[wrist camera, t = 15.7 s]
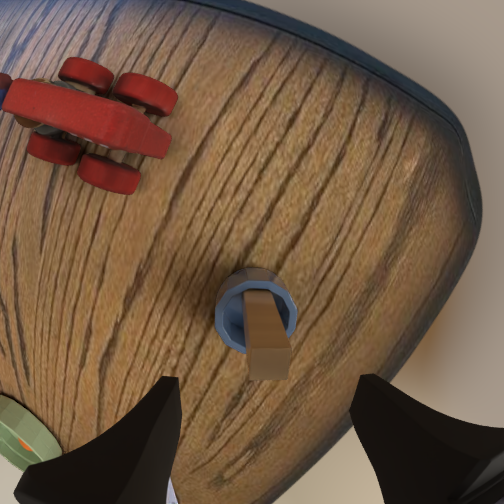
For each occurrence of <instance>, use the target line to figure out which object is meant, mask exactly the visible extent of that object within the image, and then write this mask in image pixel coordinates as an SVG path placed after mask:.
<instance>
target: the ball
mask: <svg viewBox="0 0 504 504" xmlns="http://www.w3.org/2000/svg"><path fill="white" fill-rule="evenodd" d="M18 440H19V442H20V444H21V445H22V446H23V447H24V448H25V449H26V450H28V451H32V450H31V448H30V447H29V446H28V445H26V444H25V443H24V442H23V441H22V440H21V439H20V438H19V437H18Z"/></svg>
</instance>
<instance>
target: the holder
mask: <svg viewBox="0 0 504 504" xmlns="http://www.w3.org/2000/svg"><path fill="white" fill-rule="evenodd" d="M249 288H256V289H269V290H270V291H271V294H272V296H273V299H274V302H275V304H276V307H277V310H278V312H279V315H280V318H281V321H282V323H283V326H284V329H285V331H286V334H287V337H288V338H289V337H290V335H291V334H292V333H293V332H294V330H295V327H296V319H297V308H296V306H295V304H294V302H293V299H292V297H291V295H290V293H289V291H288V290H287V288H286V286H285V284H284V282H283V280H282V279H281V278H279V277H278V276H277V275H276V274H274V273H273V272H271V271H269V270H266V269H263V268H258V267H249V268H244V269H241V270H238V271H236V272H234V273H233V274H231V275H230V276H229V277H228V278H227V279H226V280H225V281H224V282H223V283H222V285H221V287H220V289H219V291H218V293H217V298H216V305H215V329H216V330H217V332H218V334H219V335H220V337H221V338H222V340H223V342H224V343H225V344H226V345H227V346H229V347H231V348H233V349H235V350H237V351H239V352H241V353H244V354H246V343H245V332H244V321H243V310H242V292H243V291H245V290H247V289H249Z"/></svg>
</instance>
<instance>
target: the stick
mask: <svg viewBox="0 0 504 504" xmlns="http://www.w3.org/2000/svg"><path fill="white" fill-rule="evenodd" d="M242 310H243V321H244V332H245V343H246V354H247V364H248V374H249V380H287V379H288V373H289V366H290V358H291V351H292V348H291V345H290V342H289V340H288V337H287V334H286V331H285V329H284V326H283V323H282V321H281V318H280V315H279V312H278V310H277V307H276V304H275V302H274V299H273V296H272V294H271V291H270V290H269V289H256V288H249V289H247V290H245V291H243V292H242Z"/></svg>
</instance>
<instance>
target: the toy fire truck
mask: <svg viewBox="0 0 504 504" xmlns="http://www.w3.org/2000/svg"><path fill="white" fill-rule="evenodd" d="M58 77H59V78H60V79H61V80H62V81H54V82H52V81H51V80H48V79H45V78H36V79H33V80H27V79H22V78H18V79H15V80H12V79H11V77H10V76H9V75H8V74H4V73H0V110H1V109H2V110H3V111H5V112H9V113H12V114H14V117H15V119H16V120H17V122H18V123H19V124H20V125H22V126H24V127H27V128H34V129H35V130H36V131H34V132H33V133H32V134H31V137H30V140H29V143H28V146H27V151H28V153H29V154H31V155H32V156H34V157H37V158H39V159H42V160H45V161H48V162H51V163H55V164H60V165H66V166H69V165H73V164H75V162H76V160H77V157H78V155H79V152H80V148H81V146H80V145H79V144H78V143H76V142H74V141H72V140H69V139H66V138H65V135H66V133H67V132H69V133H70V134H71V135H74V136H77V137H79V138H82V139H84V140H87V141H90V142H93V143H95V144H98V145H100V146H103V147H106V148H110V149H111V150H110V153H109V155H108V158H107V157H104V156H101V155H98V154H93V153H89V154H84V155H83V156H82V159H81V162H80V165H79V168H78V172H77V174H78V176H79V177H80V178H81V179H82V180H83V181H85V182H87V183H89V184H91V185H94V186H96V187H98V188H101V189H104V190H107V191H111V192H114V193H119V194H124V195H130V194H133V193H134V192H135V190H136V187H137V185H138V182H139V180H140V177H141V173H140V172H139V170H137V169H135V168H133V167H131V166H129V165H127V164H124V163H122V160H123V158H124V156H125V154H126V152H130V153H138V154H142V155H146V156H150V157H154V158H158V159H163V158H164V157H165V155H166V152H167V150H168V147H169V145H170V142H171V139H172V138H171V135H170V134H169V133H167V132H166V131H164V130H162V129H161V128H159V127H158V126H156V125H154V124H153V123H151V122H150V120H149V118H148V117H147V116H145V115H144V112H148V113H151V114H154V115H159V116H164V117H165V116H169V115H170V113H171V112H172V110H173V108H174V106H175V104H176V102H177V100H178V95H177V93H176V92H175V91H174V90H173V89H172V88H170V87H169V86H167V85H166V84H164V83H162V82H160V81H158V80H156V79H153V78H151V77H148V76H145V75H141V74H137V73H124V74H122V75H121V76H120V77H119V80H118V81H117V83H116V85H115V87H114V89H113V92H112V93H113V95H114V97H115V98H117V99H118V100H120V101H121V102H123V103H125V104H123V103H121V102H117V101H113V100H110V99H106V98H103V97H99V96H96V95H95V93H96V94H105V93H106V92H107V91H108V89H109V87H110V85H111V83H112V82H113V79H114V75H113V73H112V72H111V71H109V70H108V69H107V68H105V67H103V66H101V65H99V64H97V63H94V62H92V61H90V60H86V59H83V58H79V57H70V58H67V59H66V61H65V62H64V64H63V66H62V67H61V69H60V71H59V74H58ZM63 81H64V82H63ZM126 104H128V105H130V106H131V107H130V106H128V105H126Z"/></svg>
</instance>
